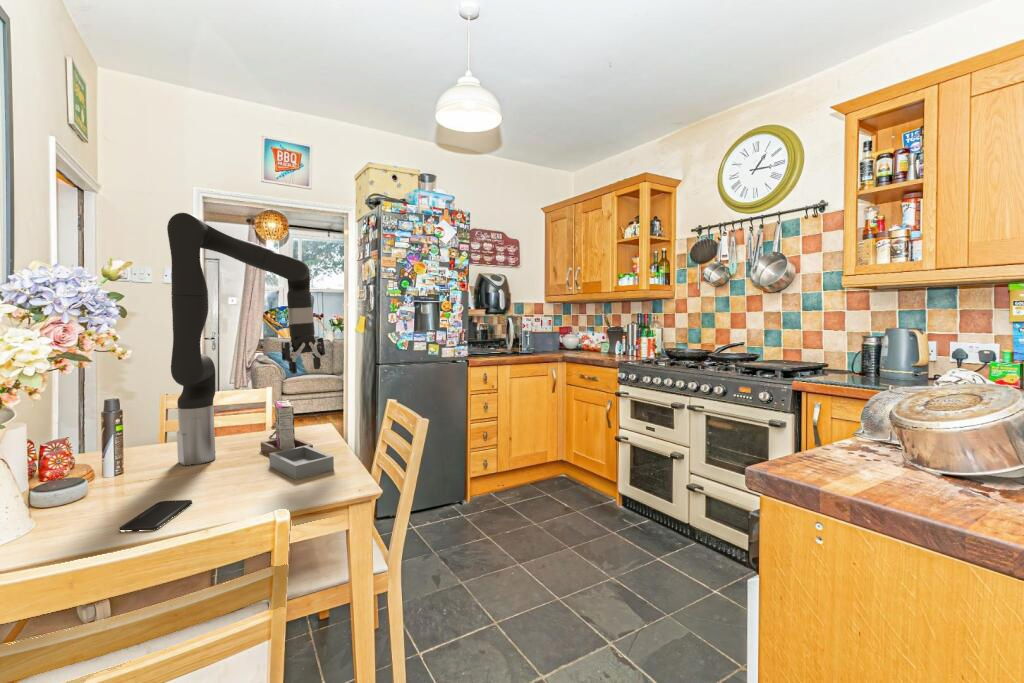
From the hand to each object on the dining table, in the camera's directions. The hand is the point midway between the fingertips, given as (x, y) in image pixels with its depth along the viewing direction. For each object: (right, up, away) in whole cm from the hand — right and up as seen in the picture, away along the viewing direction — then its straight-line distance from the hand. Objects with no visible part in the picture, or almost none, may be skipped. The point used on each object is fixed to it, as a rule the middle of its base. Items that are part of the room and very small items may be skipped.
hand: (305, 371), depth 157 cm
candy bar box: (-7, -27, +1) cm, 28 cm away
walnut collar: (-7, -27, +1) cm, 28 cm away
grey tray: (+5, -28, -15) cm, 32 cm away
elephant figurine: (-16, -26, +20) cm, 37 cm away
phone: (-13, -31, -48) cm, 58 cm away
